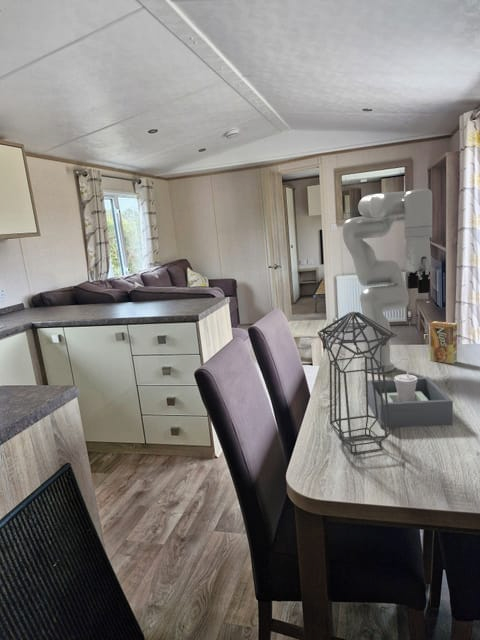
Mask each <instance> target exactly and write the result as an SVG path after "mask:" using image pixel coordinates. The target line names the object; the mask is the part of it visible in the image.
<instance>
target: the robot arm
mask: <svg viewBox="0 0 480 640" xmlns="http://www.w3.org/2000/svg"><path fill="white" fill-rule="evenodd" d="M357 208H358V209H357V210H358V212H359V214H360V215H361V216H356V217H351V218H349V219H346V220H345V221H344V223H343V225H342V238H343V239H342V240H343V242H344V244H345V246H346V248H347V251H348V252H349V253H350V255H351V258H352V261H353V266H354V268H355V269H354V270H355V272H356V275H357V279H358V282H359V283H360V285H361V286H363V287H367V288H365V289H363V290H362V291H361V293H360V296H359V302H360V307H361V314H362V315H364V316H366V317H367V318H369V319H371V320H372V321H374V322H376V323H377V324H379V325H381V326H382V327H384V328H386V329H387V330H389V331H391V328H390V327H391V325H390V321H389V319H388V318H387V317H386V316H385V314H384V313H386V312H391V311H393V312H395V311H400V310H404V309H405V308H407V307H408V305H409V301H410V297H409V291H408V289H410V290H411V289H417V293H418V294H428V293H430V291H431V284H430V283H431V282H430V281H431V266H432V265H431V264H432V263H431V262H432V254H431V241H430V240H431V239H430V238H432V237H433V192H432V190H431V189H429V188H420V189H419V188H418V189H412V190H411V189H410V190H403V191H391V192H386V191H385V192H379V193H373V194H372V193H370V194H367V195H365V196H363V197H362V198H361V199H360V200H359V202H358V205H357ZM402 217H404V240H405V249H404V269H405V271H407V285H406V281H405V279H404V275H403V272H402V270H401V266H400V265H399V264H398V262H397V261H396V260H393V259H385V260H384V259H382V260H379V259H378V258H377V256H376V253H375V250H374V248H373V247H372V246H371V245H370V244H369V243H367V242H366V241H365V240H364V239H376V238H382V237H383V238H384V237H386V236H387V235H388V234H389V233H390V231H391V230H392V227H393V225H394V223H395V221H396V220H397V218H402ZM364 318H365V317H364ZM367 318H366V319H367ZM367 320H368V319H367ZM369 321H370V320H369ZM372 321H371V322H372ZM362 322H363V321H362ZM365 323H366V322H365ZM365 323H364V322H363V325H366V324H367V323H366V324H365ZM372 323H373V322H372ZM374 324H375V323H374ZM377 324H375V325H377ZM363 325H362V326H363ZM367 325H368V324H367ZM377 326H378V325H377ZM378 327H380V326H378ZM380 328H381V327H380ZM381 329H383V328H381ZM383 330H384V331H386V330H385V329H383ZM363 332H364V334H365V336H366V338H367V340H368V341H370V340H374V339H377V338H376V336H375V333H374V331H373V328H372V327H371V326H367V327H366V328H365V329H364V330H363ZM376 332H377V331H376ZM386 332H387V333H390V332H388V331H386ZM377 335H378V338H381V336H382V335H380V334H379V332H377ZM383 337H385V336H383ZM363 340H365V339H364V338H363ZM380 341H381V340H380ZM382 341H383V340H382ZM376 344H378V341H375V342H371V343H369V345H370V348H372V347H373V346H375V345H376ZM380 346H381V345H379V347H378V349H377V351H376V353H375V355H374V357H375V359H376V360H378V361H379V362H380ZM363 348H364V350H363V351H367V350H369V349H368V344H367V343H366V342H363ZM375 349H376V348H375ZM375 349H373V350H372V351H371V352H372V354H373V353H374V351H375ZM364 355H365V356H368V357H372V356H371V354H370V353H365V354H364ZM363 359H364V362H362V363H361V364H360V370H363V369H365V357H363ZM372 362H373V368H378V366H377V365H376V363H375V361H374V359H372ZM381 363H382V364H384V365H385V367H384V372H385V374H387V373H390V372H393V371H394V370H395V369H396V367H395V366H396V365H395V364H394V363H393V362H391V338H390V339H389V340H388V341H387V342H386V346H385V344H384V346H382V354H381ZM378 364H379V366H380V363H378ZM381 366H383V365H381ZM367 369H371V361H370V359H368V358H367ZM373 371H374V374H375V373H376V374H378V373H377V370H373ZM379 371H380V374H382V368H381V369H379ZM367 373H371V374H372V372H371V370H368V371H367Z"/></svg>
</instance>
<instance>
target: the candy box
mask: <svg viewBox="0 0 480 640" xmlns="http://www.w3.org/2000/svg"><path fill="white" fill-rule="evenodd" d="M429 346H430V349H429V361H432V362H437V361H438V363H445V364H450V363H451V364H450V365H454V364H455V363H456V362H457V361H458V323H457V322H447V321H436V320H435V321H432V322H430V323H429Z"/></svg>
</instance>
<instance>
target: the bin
mask: <svg viewBox="0 0 480 640" xmlns="http://www.w3.org/2000/svg"><path fill="white" fill-rule="evenodd" d="M374 381H375V390H376V400H377V410H378V418H379V419H380V420H381V421H382V422H383V414H382V406H381V398H380V389H379V381H378V379H374ZM385 381H386V390H387V399H388V408H389V417H390V425H391V429H396V428H418V427H421V428H422V427H423V428H424V427H439V426H441V427H442V426H453V412H454V411H453V410H454V407H453V406H454V405H453V403H454V401H453V400H452V398H450V397H449V395H447V394H446V393H445V392H444V391H443V390H442V389H441V388H440V387H439V386H438V385H437V384H436V383H435V381H433V380H432V379H431V378H430V377H429V376H428V377H426V376H425V377H417V381H418V382H417V383H416V389H415V397H414V401H409V402H398V395H397V388H396V382H395V381H394V378H393V379H392V378H390V379H385ZM381 387H382V395H383V403H384V412H385V420H386V426H387V427H388V419H387V410H386V401H385V392H384V384H383V379H381ZM368 408H369V409H370V410H371V413H372V414H373V416H375V417H376V410H375V400H374V391H373V382H372V379H371V380H369V379H368ZM376 422H377V424H378V425H379V427H380V429H384V426H383V425H382V424H381V423H380V422H379V421H378V420H377V421H376ZM383 423H384V422H383ZM388 428H389V427H388Z"/></svg>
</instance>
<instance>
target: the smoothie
mask: <svg viewBox="0 0 480 640" xmlns="http://www.w3.org/2000/svg"><path fill="white" fill-rule="evenodd" d="M409 366H410V365H409V363H406V373H404V374H398V375H395V376H394V378H393V379H394V381H395V382H396V388H397V395H398V402H409V401H414V397H415V389H416V383H417V382H418V381H417V378H418V377H417V376H416V375H413V374H410V373H409V372H410V370H409V369H410V368H409Z"/></svg>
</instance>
